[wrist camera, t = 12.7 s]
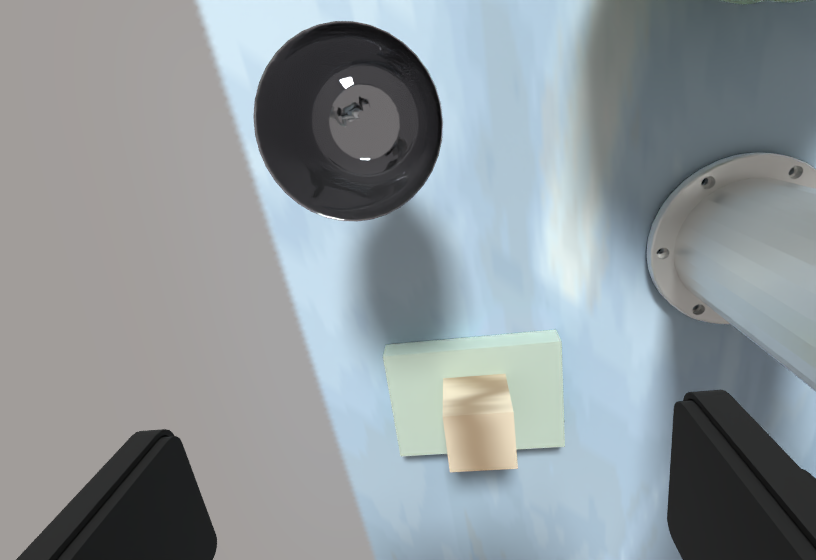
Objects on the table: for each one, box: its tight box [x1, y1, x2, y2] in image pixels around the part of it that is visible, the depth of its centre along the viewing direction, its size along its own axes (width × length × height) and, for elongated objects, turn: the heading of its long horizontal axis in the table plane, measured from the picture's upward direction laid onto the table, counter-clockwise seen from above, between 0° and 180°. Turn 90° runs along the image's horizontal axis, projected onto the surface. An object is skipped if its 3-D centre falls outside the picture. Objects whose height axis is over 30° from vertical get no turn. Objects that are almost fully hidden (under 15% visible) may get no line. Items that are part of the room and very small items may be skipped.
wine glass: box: [254, 21, 443, 221], centre depth 27 cm, size 8×8×15 cm
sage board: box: [383, 330, 565, 456], centre depth 40 cm, size 14×10×2 cm
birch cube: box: [443, 374, 518, 472], centre depth 37 cm, size 5×5×5 cm
